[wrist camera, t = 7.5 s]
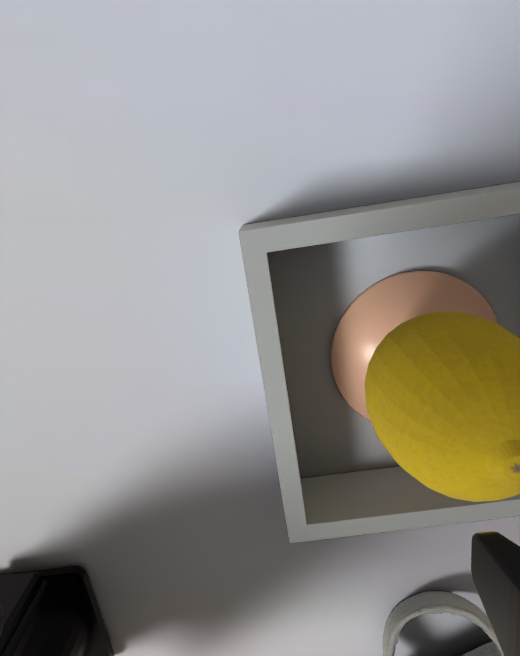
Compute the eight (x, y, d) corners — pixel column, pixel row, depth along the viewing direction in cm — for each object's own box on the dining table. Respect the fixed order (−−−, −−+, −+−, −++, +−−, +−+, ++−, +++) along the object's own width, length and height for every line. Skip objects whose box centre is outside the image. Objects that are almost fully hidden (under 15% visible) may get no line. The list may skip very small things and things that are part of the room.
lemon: (489, 289, 18) (660, 363, 10) (471, 414, 19) (608, 560, 12) (350, 290, 18) (414, 365, 10) (344, 415, 19) (395, 561, 12)
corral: (558, 461, 20) (607, 505, 17) (285, 495, 21) (289, 543, 18) (574, 173, 17) (638, 169, 14) (242, 225, 17) (238, 231, 14)
